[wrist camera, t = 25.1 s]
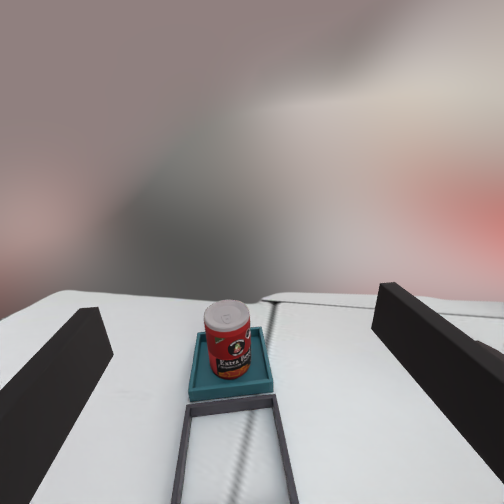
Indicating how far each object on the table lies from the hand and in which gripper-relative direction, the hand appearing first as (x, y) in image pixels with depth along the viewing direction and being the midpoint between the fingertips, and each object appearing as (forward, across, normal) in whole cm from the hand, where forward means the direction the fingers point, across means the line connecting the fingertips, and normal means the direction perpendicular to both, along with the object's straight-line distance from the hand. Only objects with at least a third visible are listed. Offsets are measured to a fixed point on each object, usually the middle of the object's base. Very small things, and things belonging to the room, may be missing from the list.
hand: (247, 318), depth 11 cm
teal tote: (+24, -2, -28) cm, 37 cm away
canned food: (+24, -2, -28) cm, 37 cm away
